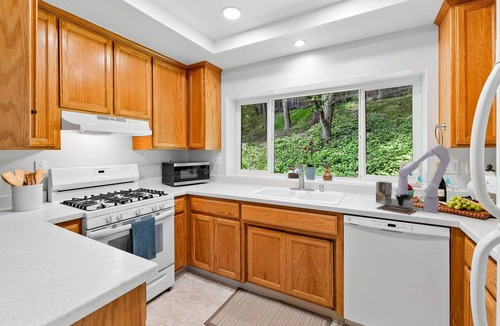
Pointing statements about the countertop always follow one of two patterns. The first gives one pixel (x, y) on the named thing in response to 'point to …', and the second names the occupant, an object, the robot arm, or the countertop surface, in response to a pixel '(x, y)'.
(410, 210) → the jig
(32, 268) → the countertop surface
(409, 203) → the gray rectangular block
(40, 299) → the countertop surface
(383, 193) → the coffee box
